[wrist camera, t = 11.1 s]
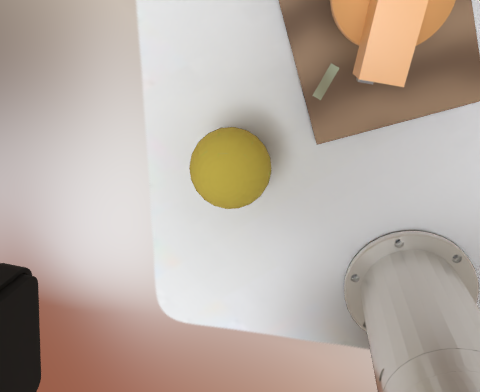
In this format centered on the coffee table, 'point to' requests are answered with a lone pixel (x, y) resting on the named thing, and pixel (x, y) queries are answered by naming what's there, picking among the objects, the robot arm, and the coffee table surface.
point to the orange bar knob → (388, 34)
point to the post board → (377, 95)
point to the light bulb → (230, 168)
